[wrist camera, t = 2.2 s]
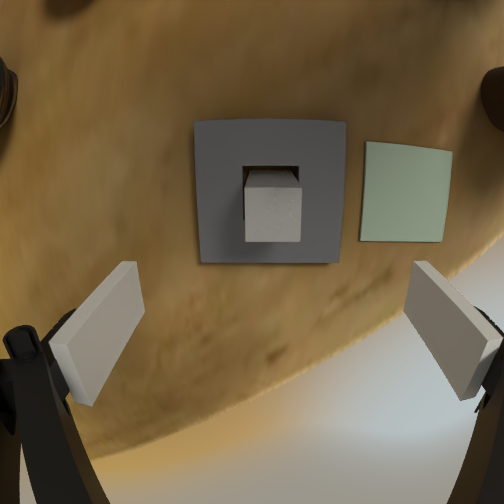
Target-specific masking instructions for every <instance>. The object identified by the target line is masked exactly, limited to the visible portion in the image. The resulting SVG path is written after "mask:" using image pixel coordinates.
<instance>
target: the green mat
mask: <svg viewBox="0 0 504 504" xmlns="http://www.w3.org/2000/svg"><path fill="white" fill-rule="evenodd" d="M451 166H452V152H451V151H445V150H439V149H432V148H425V147H417V146H409V145H401V144H391V143H381V142H371V141H366V145H365V170H364V188H363V202H362V215H361V227H360V237H359V240H360V241H412V242H442V238H443V232H444V226H445V220H446V213H447V205H448V197H449V188H450V178H451Z"/></svg>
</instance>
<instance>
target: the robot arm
mask: <svg viewBox="0 0 504 504" xmlns="http://www.w3.org/2000/svg"><path fill="white" fill-rule="evenodd" d="M403 311H404V312H405V314H406V315H407V317H408V318H409V320H410V321H411V323H412V324H413V326H414V327H415V329H416V330H417V332H418V333H419V335H420V336H421V338H422V339H423V341H424V342H425V344H426V346H427V347H428V349H429V350H430V352H431V353H432V355H433V357H434V358H435V360H436V361H437V363H438V365H439V366H440V368H441V369H442V371H443V373H444V374H445V376H446V378H447V379H448V381H449V383H450V384H451V386H452V388H453V389H454V391H455V392H456V394H457V396H458V398H459V400H460V401H462V400H466V399H470V398H473V397H475V396H476V394H477V393H478V391H479V389H480V387H481V385H482V386H483V388H484V389H485V390H486V392H485V394H484V395H483V397H482V399H481V401H480V403H479V405H478V406H477V408H476V410H475V413H477V411H478V410H479V412H478V416H477V420H476V424H475V427H474V431H473V434H472V438H471V441H470V444H469V447H468V450H467V453H466V456H465V459H464V462H463V465H462V468H461V470H460V473H459V476H458V478H457V481H456V483H455V486H454V488H453V490H452V493H451V495H450V498H449V500H448V502H447V504H504V333H503V332H502V331H501V330H500V328H499V327H498V326H497V325H495V323H494V322H493V321H492V320H490V318H489V317H488V316H487V315H486V314H485V313H484V312H483V311H482V310H480V309H478V308H477V307H475V306H473V305H472V304H471V303H470V302H469V301H468V300H467V299H466V298H465V297H464V296H463V295H462V294H461V293H460V292H459V291H458V290H457V289H456V288H455V287H454V286H453V285H452V284H451V283H450V282H449V281H448V280H446V279H445V278H444V277H443V276H442V275H441V274H440V273H439V272H438V271H437V270H436V269H435V268H434V267H433V266H432V265H430V264H429V263H428V262H427V261H413V267H412V272H411V278H410V283H409V288H408V292H407V297H406V302H405V306H404V310H403ZM144 313H145V309H144V303H143V298H142V292H141V287H140V281H139V275H138V268H137V262H136V261H122V262H121V263H120V264H119V265H118V266H117V267H116V268H115V269H114V270H113V271H112V272H111V273H110V274H109V275H108V276H107V277H106V278H105V279H104V280H103V282H102V283H101V284H100V285H99V286H98V287H97V288H96V289H95V290H94V291H93V292H92V293H91V294H90V296H89V297H88V298H87V299H86V300H85V301H84V302H83V303H82V304H81V305H80V307H79V308H78V309H73V310H71V311H70V312H68V313H67V314H65V315H64V316H63V317H62V318H61V319H60V320H59V321H58V323H57V324H56V325H55V326H54V327H53V329H51V330H50V332H49V333H48V334H47V335H46V336H45V337H44V338H43V340H42V341H41V342H40V341H39V338H38V336H37V333H36V330H35V328H34V327H32V326H30V325H22V326H18V327H15V328H13V329H11V330H10V331H8V332H7V333H6V334H5V336H4V338H3V343H4V345H5V347H6V349H7V352H8V354H9V356H10V358H11V359H0V504H20V497H19V496H20V492H19V480H20V475H19V474H20V451H21V444H22V449H23V453H24V458H25V463H26V467H27V471H28V475H29V479H30V482H31V486H32V490H33V493H34V496H35V500H36V503H37V504H110V502H109V500H108V499H107V497H106V495H105V493H104V491H103V489H102V487H101V484H100V482H99V480H98V478H97V476H96V474H95V472H94V470H93V467H92V465H91V463H90V460H89V458H88V456H87V453H86V451H85V448H84V446H83V444H82V441H81V438H80V436H79V433H78V431H77V428H76V425H75V422H74V420H73V417H72V414H71V411H70V408H69V405H68V403H67V401H66V399H65V398H66V396H67V395H68V393H69V391H70V393H71V395H72V397H73V399H74V401H75V403H80V404H84V405H89V406H93V404H94V402H95V401H96V399H97V397H98V395H99V393H100V391H101V389H102V387H103V385H104V384H105V382H106V380H107V378H108V376H109V374H110V373H111V371H112V369H113V367H114V365H115V364H116V362H117V360H118V358H119V356H120V355H121V353H122V351H123V349H124V347H125V346H126V344H127V342H128V340H129V339H130V337H131V335H132V333H133V332H134V330H135V328H136V327H137V325H138V323H139V321H140V320H141V318H142V316H143V315H144Z"/></svg>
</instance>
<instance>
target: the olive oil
mask: <svg viewBox="0 0 504 504" xmlns="http://www.w3.org/2000/svg"><path fill="white" fill-rule="evenodd" d="M482 99H483V104H484V107H485V110H486V113H487V115H488V117H489V118H490V120H491V121H492V123H493V124H494V125H495V126H496V127H497V128H499V129H500V130H502V131H504V66H503V67H498V68H494V69H491V70H490V71H488V72H487V74H486V75H485V77H484V79H483V83H482Z"/></svg>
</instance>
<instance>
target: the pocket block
mask: <svg viewBox="0 0 504 504" xmlns="http://www.w3.org/2000/svg"><path fill="white" fill-rule="evenodd" d="M194 147H195V172H196V193H197V211H198V227H199V241H200V255H201V262H207V263H339V256H340V245H341V233H342V220H343V205H344V187H345V164H346V122H343V121H328V120H307V119H225V120H204V121H194ZM244 166H297V181H298V182H299V184H300V186H301V187H302V206H301V236H300V242H246V241H245V215H244Z"/></svg>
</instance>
